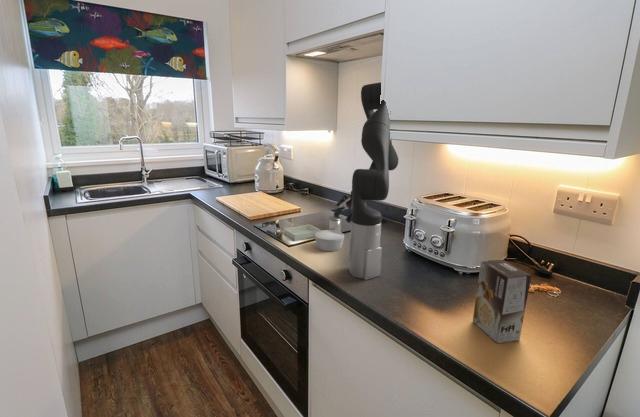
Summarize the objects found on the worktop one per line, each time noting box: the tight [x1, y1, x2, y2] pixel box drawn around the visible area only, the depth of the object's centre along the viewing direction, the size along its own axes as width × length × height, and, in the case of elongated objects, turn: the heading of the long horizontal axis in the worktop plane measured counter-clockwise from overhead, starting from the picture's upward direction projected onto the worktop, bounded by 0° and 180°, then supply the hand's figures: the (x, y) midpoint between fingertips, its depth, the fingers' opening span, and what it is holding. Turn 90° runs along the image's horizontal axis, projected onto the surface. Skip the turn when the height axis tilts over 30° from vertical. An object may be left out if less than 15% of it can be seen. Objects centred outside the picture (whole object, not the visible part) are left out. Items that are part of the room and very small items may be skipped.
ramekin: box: [314, 229, 345, 253], centre depth 130 cm, size 11×11×5 cm
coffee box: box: [472, 259, 532, 344], centre depth 79 cm, size 9×6×16 cm
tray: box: [283, 223, 322, 242], centre depth 143 cm, size 10×13×2 cm
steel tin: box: [328, 215, 343, 233], centre depth 142 cm, size 5×5×8 cm
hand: (341, 218), depth 143 cm, fingers open, 8 cm apart
